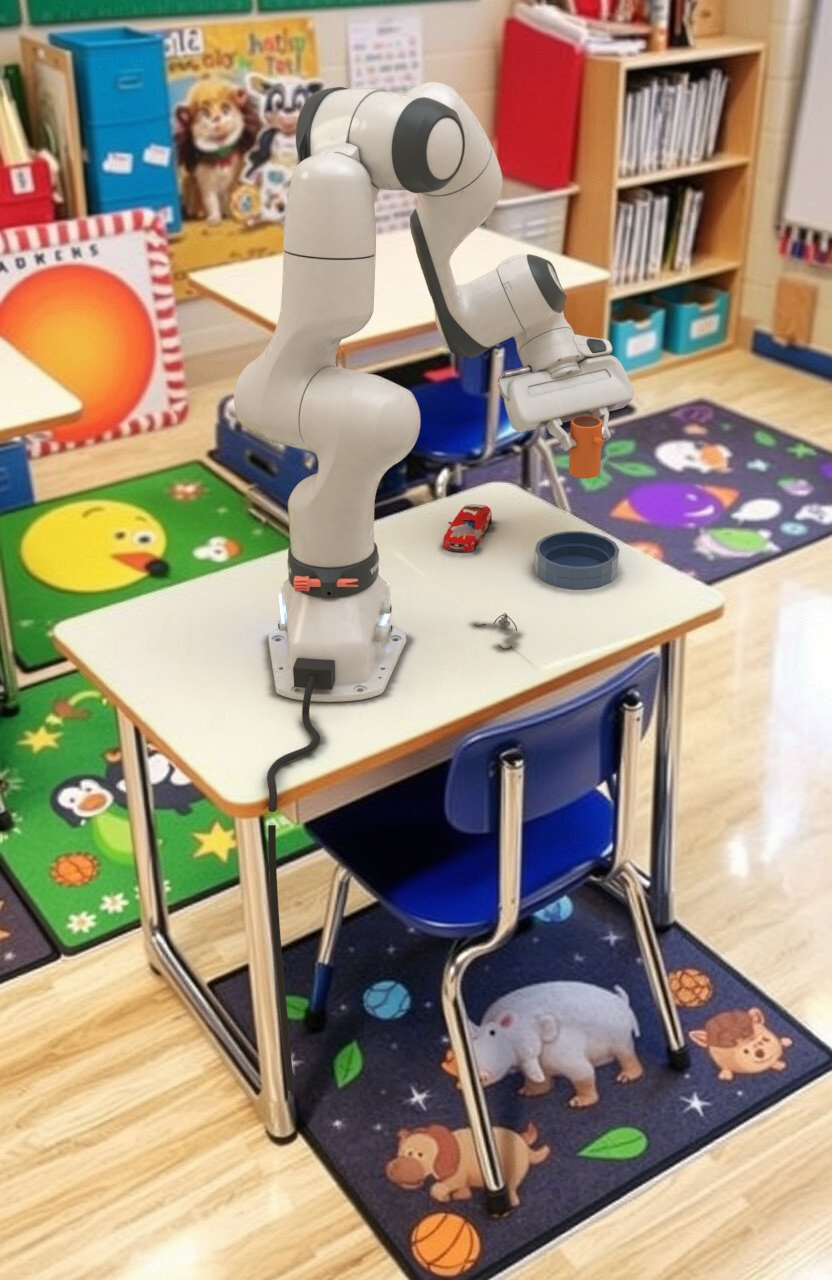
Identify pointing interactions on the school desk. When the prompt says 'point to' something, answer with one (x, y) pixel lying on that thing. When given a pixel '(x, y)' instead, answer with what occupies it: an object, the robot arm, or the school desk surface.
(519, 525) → the school desk surface
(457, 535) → the race car
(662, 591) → the school desk surface
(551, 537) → the bowl
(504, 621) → the pendant
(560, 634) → the school desk surface
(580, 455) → the orange cylinder with nub
